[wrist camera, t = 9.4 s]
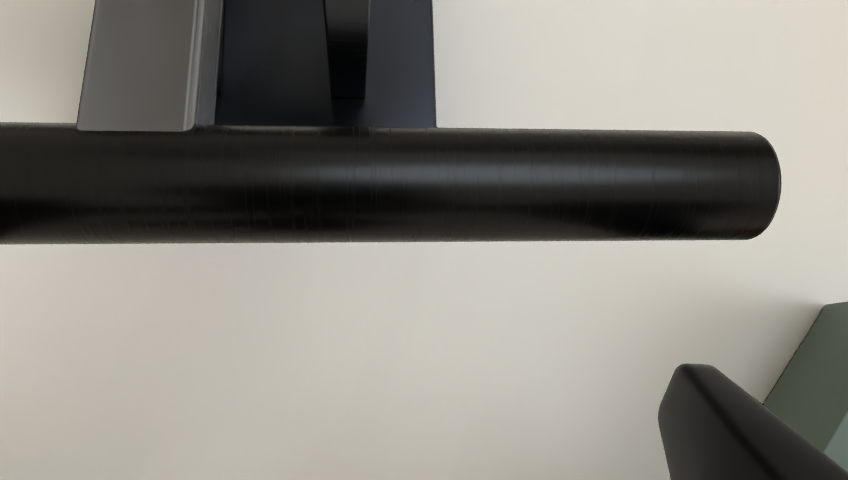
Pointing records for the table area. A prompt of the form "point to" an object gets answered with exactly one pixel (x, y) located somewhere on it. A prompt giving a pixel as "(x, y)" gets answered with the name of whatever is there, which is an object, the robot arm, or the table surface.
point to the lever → (343, 165)
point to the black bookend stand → (326, 63)
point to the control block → (818, 386)
